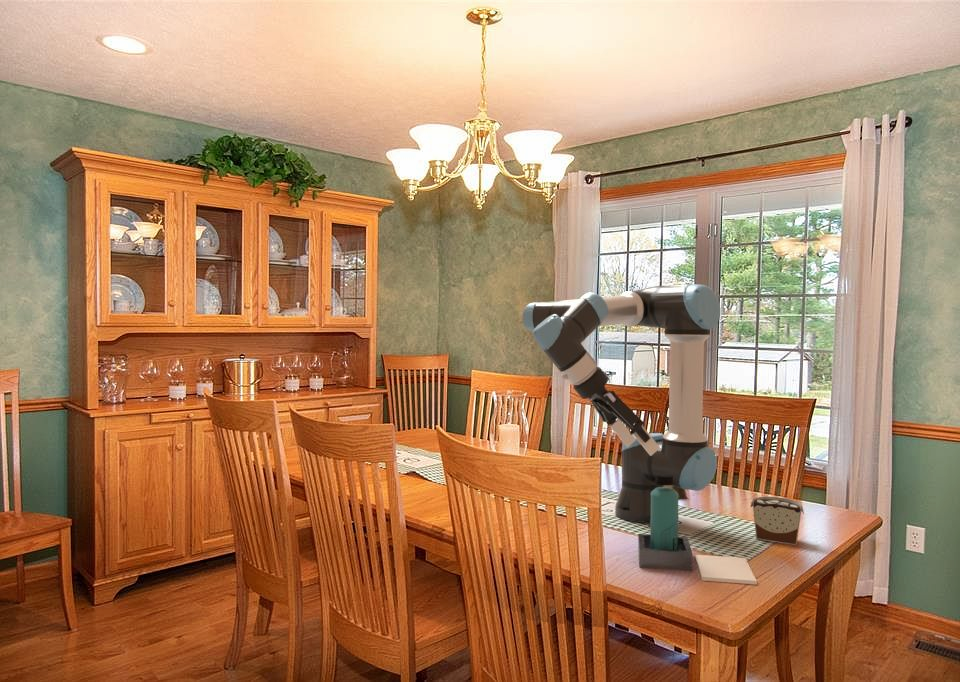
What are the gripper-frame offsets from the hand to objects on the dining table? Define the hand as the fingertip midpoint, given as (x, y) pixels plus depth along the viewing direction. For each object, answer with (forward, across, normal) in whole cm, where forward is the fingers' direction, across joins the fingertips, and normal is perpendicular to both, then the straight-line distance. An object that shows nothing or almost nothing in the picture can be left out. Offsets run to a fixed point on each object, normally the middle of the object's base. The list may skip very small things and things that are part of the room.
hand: (642, 447), depth 156 cm
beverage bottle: (+24, -2, -13) cm, 27 cm away
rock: (+39, -57, +10) cm, 70 cm away
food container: (+46, -12, +15) cm, 50 cm away
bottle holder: (+24, -2, -12) cm, 27 cm away
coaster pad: (+31, +6, -5) cm, 32 cm away
